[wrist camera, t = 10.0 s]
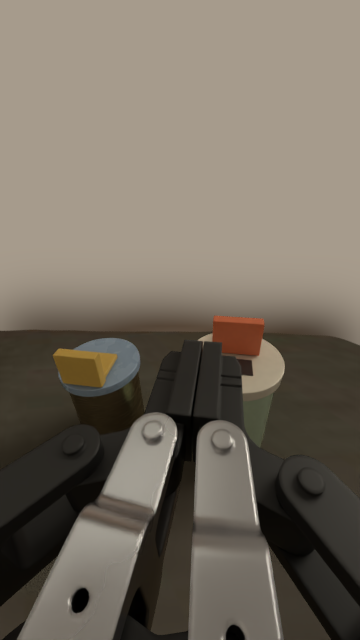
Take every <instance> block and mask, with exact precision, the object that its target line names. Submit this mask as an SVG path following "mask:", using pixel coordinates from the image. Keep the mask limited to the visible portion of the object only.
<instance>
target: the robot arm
mask: <svg viewBox="0 0 360 640" xmlns="http://www.w3.org/2000/svg"><path fill="white" fill-rule="evenodd" d="M192 452H193V462H196V471H195V496H194V521H193V534H192V556H191V580H190V604H189V629H188V631H186V632H180V633H174V634H167V635H156V634H154V633H152V632H151V627H152V622H153V618H154V613H155V609H156V604H157V599H158V595H159V589H160V583H161V577H162V567H163V560H164V555H165V550H166V546H167V542H168V537H169V533H170V528H171V524H172V520H173V515H174V511H175V506H176V502H177V498H178V493H179V489H180V482H181V478H182V472H183V465H184V461H190V462H191V460H192ZM266 540H267V541H266ZM267 542H268V544H269V546H270V547H271V549H272V551H273V552H274V554H275V555H276V557H277V558H278V560H279V561H280V563H281V564H282V566H283V567H284V569H285V570H286V572H287V573H288V575H289V576H290V578H291V579H292V581H293V582H294V584H295V585H296V587H297V588H298V590H299V591H300V593H301V594H302V596H303V597H304V599H305V600H306V602H307V603H308V605H309V606H310V608H311V609H312V611H313V612H314V614H315V615H316V617H317V619H318V620H319V622H320V623H321V625H322V626H323V628H324V629H325V631H326V632H327V634H328V635H329V637H330V638H331V640H360V498H359V497H358V496H357V495H356V494H355V493H353V492H352V491H351V490H350V489H349V488H348V487H347V486H346V485H345V484H344V483H343V482H342V481H341V480H340V479H339V478H338V477H337V476H336V475H335V474H334V473H333V472H332V471H331V470H330V469H329V468H328V467H326V466H325V465H324V464H323V463H321V462H320V461H318V460H316V459H314V458H312V457H309V456H305V455H293V456H290V457H288V458H286V459H285V460H284V459H282V458H280V457H278V456H275V455H273V454H271V453H269V452H267V451H265V450H263V449H261V448H260V447H258V446H257V445H256V444H255V443H254V442H253V441H252V440H251V439H250V437H249V436H248V434H247V432H246V429H245V426H244V411H243V391H242V372H241V365H240V363H239V362H238V360H237V359H236V357H235V356H224V355H222V342H210V341H204V345H203V341H195V340H184V344H183V348H182V351H181V352H175V351H171V352H170V353H169V354H168V355H167V356H166V357H165V358H164V359H163V360H162V363H161V366H160V370H159V372H158V375H157V379H156V381H155V384H154V387H153V390H152V393H151V396H150V398H149V401H148V404H147V407H146V410H145V413H144V415H143V416H141V417H140V418H138V419H137V420H136V421H135V422H134V423H133V425H132V426H131V427H130V428H128V429H126V430H123V431H119V432H113V433H107V434H102V435H99V433H98V431H97V430H96V429H95V428H94V427H93V426H90V425H86V424H80V425H75V426H72V427H69V428H67V429H66V430H64V431H62V432H61V433H59V434H57V435H56V436H54V437H53V438H51V439H49V440H48V441H46V442H44V443H43V444H41V445H40V446H38V447H36V448H35V449H33V450H32V451H30V452H28V453H27V454H25V455H24V456H22V457H20V458H19V459H17V460H15V461H14V462H12V463H11V464H9V465H7V466H6V467H4V468H3V469H1V470H0V606H2V605H3V604H4V603H5V602H6V601H7V600H8V599H9V598H11V597H12V596H13V595H14V594H15V593H16V592H17V591H18V590H20V589H21V588H22V587H23V586H24V585H25V584H26V583H27V582H29V581H30V580H31V579H32V578H33V577H34V576H35V575H36V574H38V573H39V572H40V571H41V570H42V569H43V568H44V567H46V566H47V565H48V564H49V563H50V562H51V561H52V560H53V559H55V558H56V557H57V556H58V557H57V559H56V561H55V563H54V565H53V567H52V569H51V571H50V573H49V575H48V577H47V579H46V581H45V583H44V585H43V587H42V589H41V591H40V593H39V595H38V598H37V600H36V602H35V604H34V606H33V608H32V610H31V612H30V614H29V616H28V618H27V620H26V621H25V622H23V623H22V624H20V625H19V626H18V627H17V628H15V629H14V630H13V631H12V632H10V633H9V634H8V635H7V636H6V637H5V638H4V639H3V640H284V639H283V632H282V626H281V620H280V613H279V607H278V601H277V595H276V588H275V582H274V576H273V569H272V563H271V557H270V552H269V548H268V544H267Z"/></svg>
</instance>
